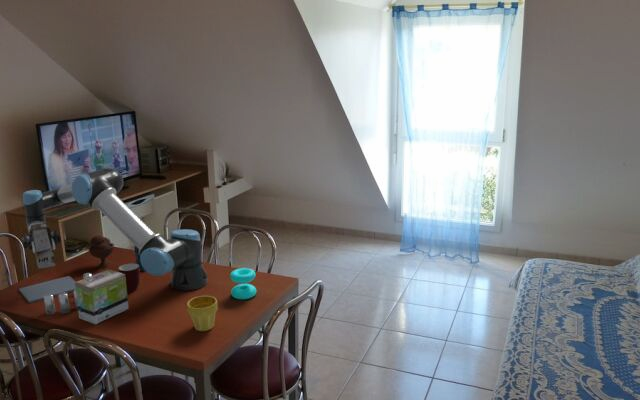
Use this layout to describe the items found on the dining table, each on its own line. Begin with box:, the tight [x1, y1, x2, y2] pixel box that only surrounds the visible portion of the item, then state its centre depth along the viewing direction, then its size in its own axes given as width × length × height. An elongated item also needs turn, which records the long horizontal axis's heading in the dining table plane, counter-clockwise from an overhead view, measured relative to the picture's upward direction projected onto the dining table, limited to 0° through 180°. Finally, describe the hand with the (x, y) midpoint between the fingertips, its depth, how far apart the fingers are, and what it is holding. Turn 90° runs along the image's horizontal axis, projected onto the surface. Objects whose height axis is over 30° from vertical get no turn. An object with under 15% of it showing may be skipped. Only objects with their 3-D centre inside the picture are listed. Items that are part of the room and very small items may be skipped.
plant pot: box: [186, 295, 219, 332], centre depth 203 cm, size 10×10×10 cm
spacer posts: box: [43, 272, 93, 315], centre depth 225 cm, size 17×21×7 cm
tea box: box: [75, 269, 129, 325], centre depth 214 cm, size 15×10×15 cm, turn 148°
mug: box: [118, 262, 141, 293], centre depth 234 cm, size 11×8×10 cm
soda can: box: [134, 245, 145, 271], centre depth 257 cm, size 7×7×12 cm
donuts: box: [229, 267, 258, 300], centre depth 228 cm, size 10×10×10 cm
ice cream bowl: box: [88, 234, 115, 269], centre depth 260 cm, size 11×11×15 cm
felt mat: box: [18, 275, 76, 304], centre depth 237 cm, size 16×20×1 cm
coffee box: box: [31, 222, 56, 270], centre depth 232 cm, size 9×6×16 cm
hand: (44, 247), depth 227 cm, fingers closed on coffee box, 6 cm apart
